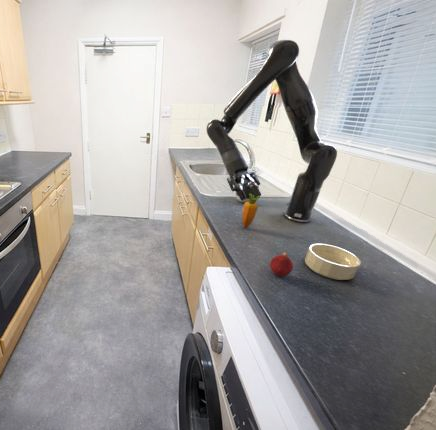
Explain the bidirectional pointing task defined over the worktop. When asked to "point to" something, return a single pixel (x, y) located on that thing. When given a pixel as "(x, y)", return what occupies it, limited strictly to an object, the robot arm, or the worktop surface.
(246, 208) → the carrot
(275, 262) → the onion
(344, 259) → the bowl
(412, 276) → the worktop surface
